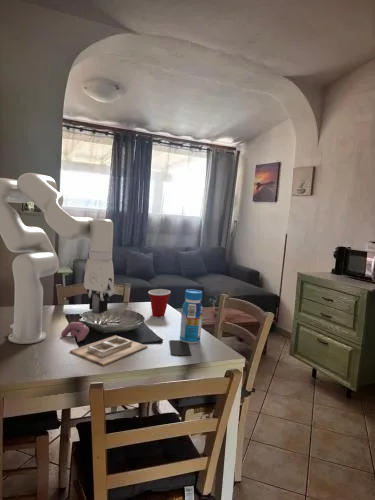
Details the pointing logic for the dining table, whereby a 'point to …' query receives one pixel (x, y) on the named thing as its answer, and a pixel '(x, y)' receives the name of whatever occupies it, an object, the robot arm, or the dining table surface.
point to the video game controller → (73, 329)
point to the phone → (179, 348)
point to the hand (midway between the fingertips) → (98, 309)
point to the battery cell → (96, 303)
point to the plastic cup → (159, 301)
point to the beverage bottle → (191, 317)
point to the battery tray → (108, 350)
